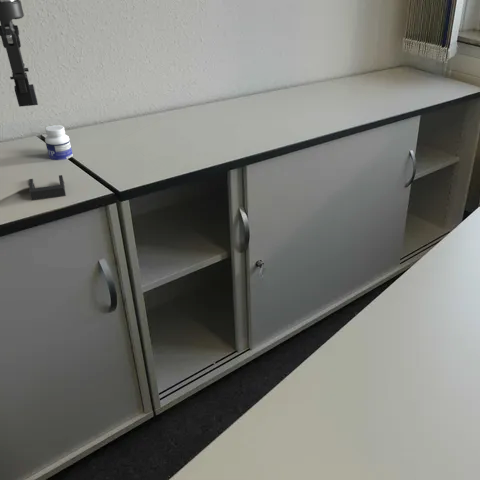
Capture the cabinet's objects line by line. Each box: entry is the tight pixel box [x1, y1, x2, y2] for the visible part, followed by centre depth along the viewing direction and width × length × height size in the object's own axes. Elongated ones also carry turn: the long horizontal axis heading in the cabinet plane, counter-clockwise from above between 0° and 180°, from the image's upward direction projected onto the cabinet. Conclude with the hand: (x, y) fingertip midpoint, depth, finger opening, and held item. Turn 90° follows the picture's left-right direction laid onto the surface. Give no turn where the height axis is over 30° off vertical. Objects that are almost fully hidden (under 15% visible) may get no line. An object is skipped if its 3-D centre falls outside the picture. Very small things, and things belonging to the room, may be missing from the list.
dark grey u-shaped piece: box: [28, 174, 67, 201], centre depth 120 cm, size 7×7×2 cm
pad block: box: [13, 83, 39, 107], centre depth 131 cm, size 4×4×4 cm
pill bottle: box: [44, 124, 74, 161], centre depth 132 cm, size 5×5×9 cm
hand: (26, 102), depth 132 cm, fingers closed on pad block, 4 cm apart
